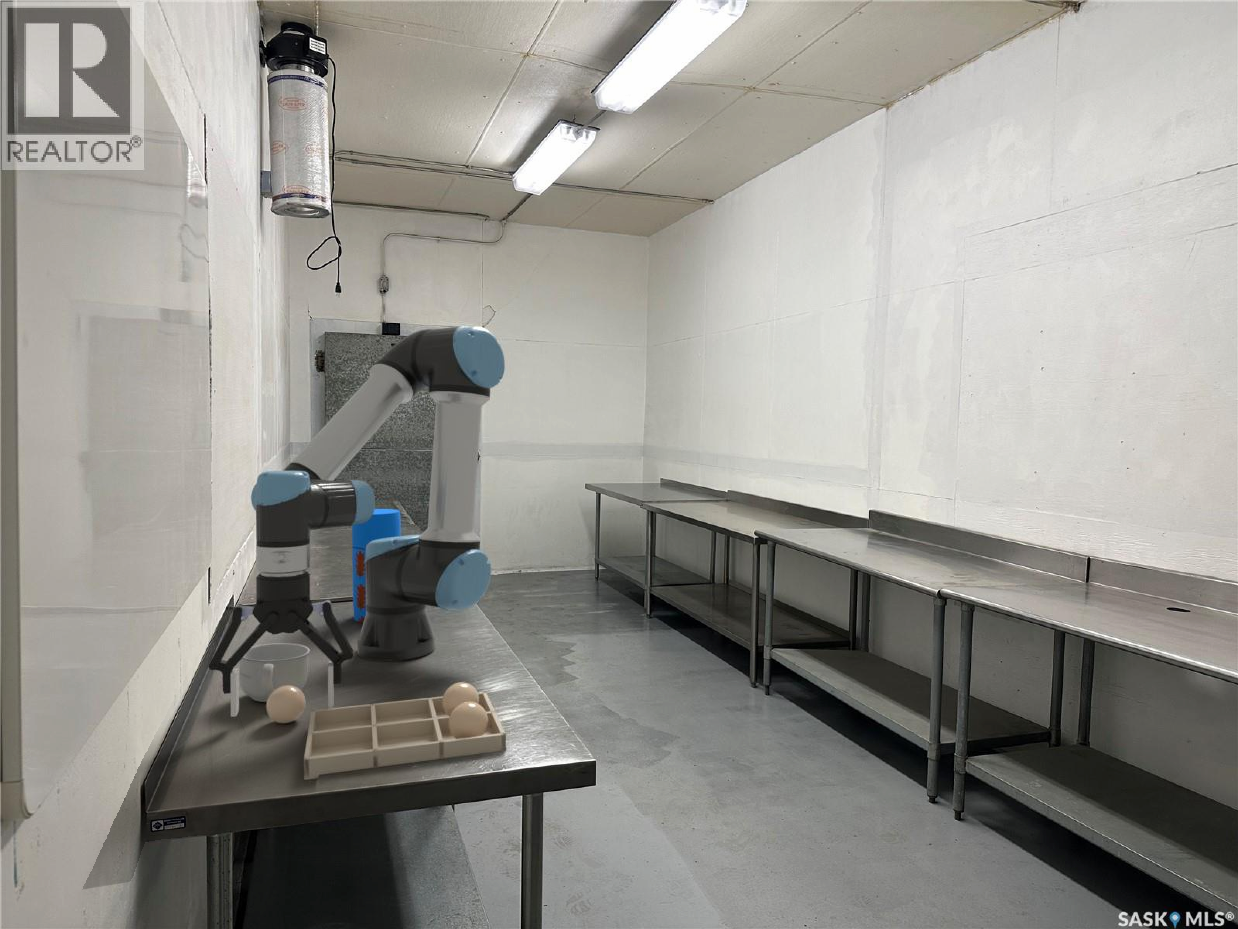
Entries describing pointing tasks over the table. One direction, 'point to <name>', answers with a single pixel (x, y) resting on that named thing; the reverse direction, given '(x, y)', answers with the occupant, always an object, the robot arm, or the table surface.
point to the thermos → (375, 528)
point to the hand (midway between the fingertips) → (283, 709)
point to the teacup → (273, 669)
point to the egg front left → (468, 720)
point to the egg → (285, 704)
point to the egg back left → (459, 696)
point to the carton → (391, 735)
